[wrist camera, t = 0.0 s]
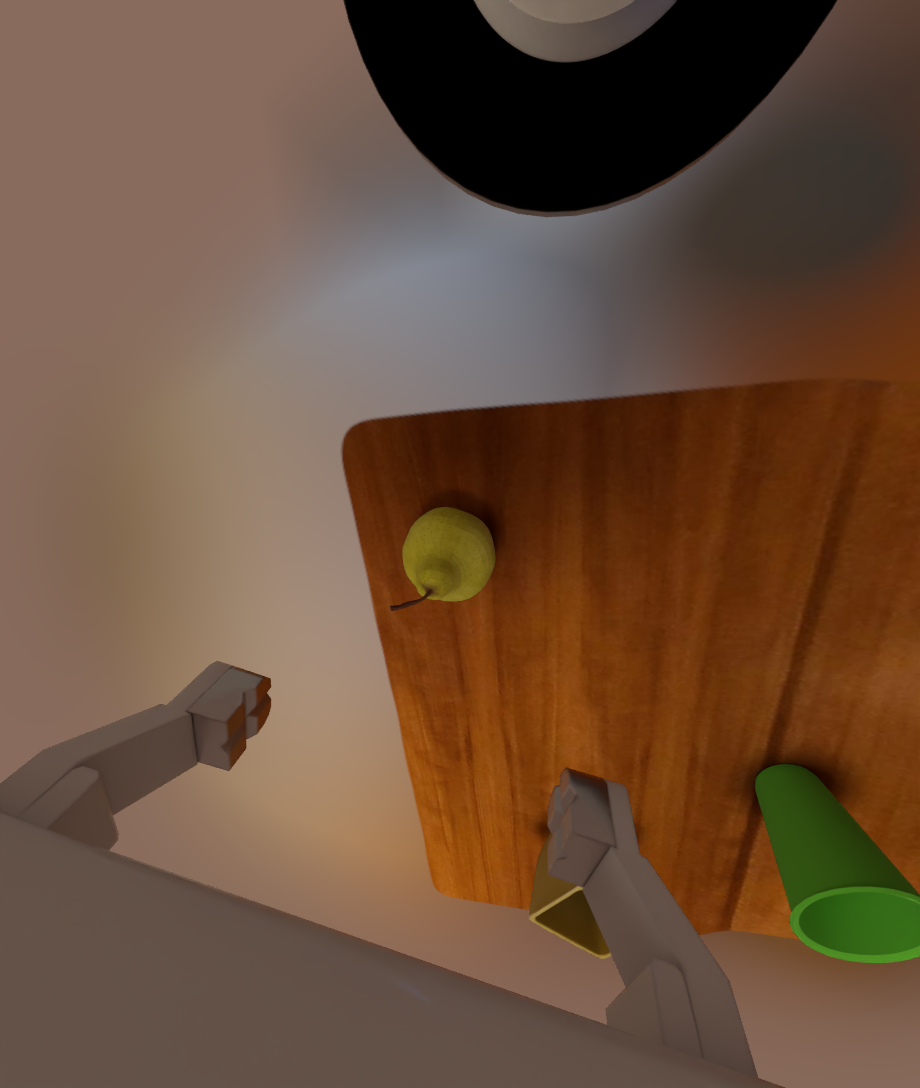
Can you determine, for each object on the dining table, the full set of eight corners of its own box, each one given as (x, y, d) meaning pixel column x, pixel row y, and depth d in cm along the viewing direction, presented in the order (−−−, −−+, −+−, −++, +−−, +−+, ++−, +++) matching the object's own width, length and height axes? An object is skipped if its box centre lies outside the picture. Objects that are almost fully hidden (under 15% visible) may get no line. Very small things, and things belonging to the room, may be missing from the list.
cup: (723, 753, 38) (785, 891, 29) (840, 742, 36) (953, 891, 26) (736, 816, 41) (796, 960, 32) (845, 810, 39) (947, 966, 29)
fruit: (515, 520, 33) (501, 603, 22) (477, 585, 36) (449, 685, 25) (437, 481, 32) (385, 545, 22) (406, 549, 35) (346, 635, 25)
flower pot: (529, 825, 48) (526, 920, 40) (574, 789, 44) (581, 886, 36) (592, 860, 48) (602, 961, 40) (642, 827, 45) (664, 931, 37)
